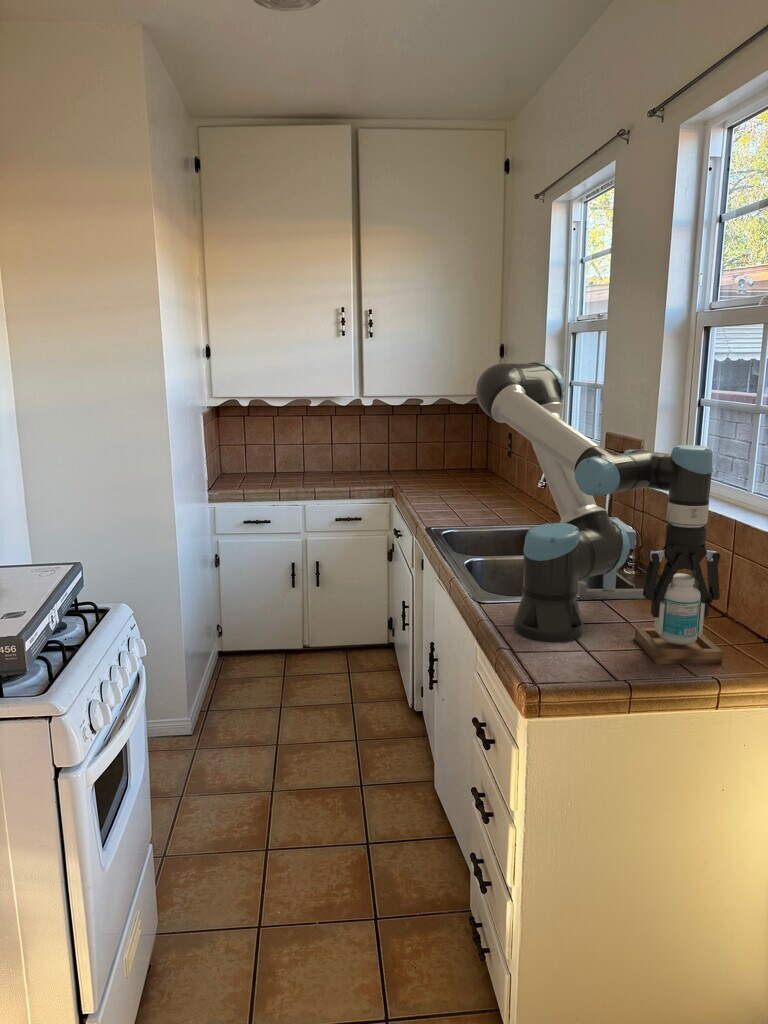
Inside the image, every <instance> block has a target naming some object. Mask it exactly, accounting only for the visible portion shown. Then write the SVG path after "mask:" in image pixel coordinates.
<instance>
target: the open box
mask: <svg viewBox="0 0 768 1024" xmlns="http://www.w3.org/2000/svg"><path fill="white" fill-rule="evenodd" d="M634 640H635V641H636V642H637V644H638V645H639V646H640V647H641V648H642V649H643V651H644V652H645V653H646V654H647V655H648V656H649V657H650V659H651V660H652V661H653V662H654V663H655V664H656V665H658V664H660V665H664V664H666V665H668V664H669V665H670V664H671V665H672V664H673V665H674V664H677V665H678V664H681V665H683V664H684V665H685V664H686V665H687V664H688V665H689V664H691V665H692V664H697V665H698V664H700V665H701V664H702V665H703V664H704V665H705V664H707V665H708V664H709V665H710V664H722V663H723V657H724V656H723V654H724V651H723V650H722V649H721V648H720V647H718V646H717V645H716V644H715V642H713V641H711V639H709V638H708V637H707V636H706V635H704V633H702V634H697V640H696V641H695V642H694V643H692V644H687V645H679V644H672V643H669V642H666V641H664V640H663V639H661V638H660V636H659V634H658V633H657V632H656V631H655V630H654V627H635V628H634Z"/></svg>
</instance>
